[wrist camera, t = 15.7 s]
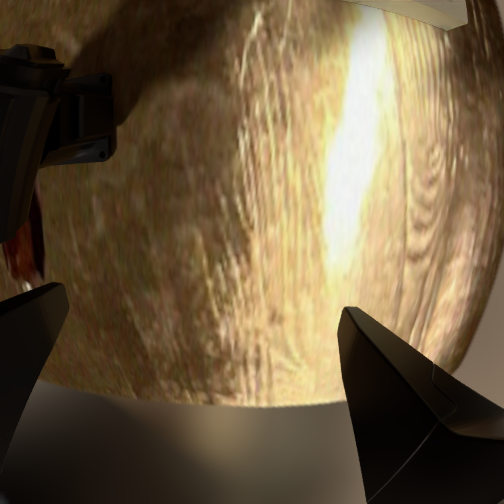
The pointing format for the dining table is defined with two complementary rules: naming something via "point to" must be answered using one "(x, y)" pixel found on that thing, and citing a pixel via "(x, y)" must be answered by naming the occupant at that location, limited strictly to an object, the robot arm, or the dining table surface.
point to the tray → (425, 10)
